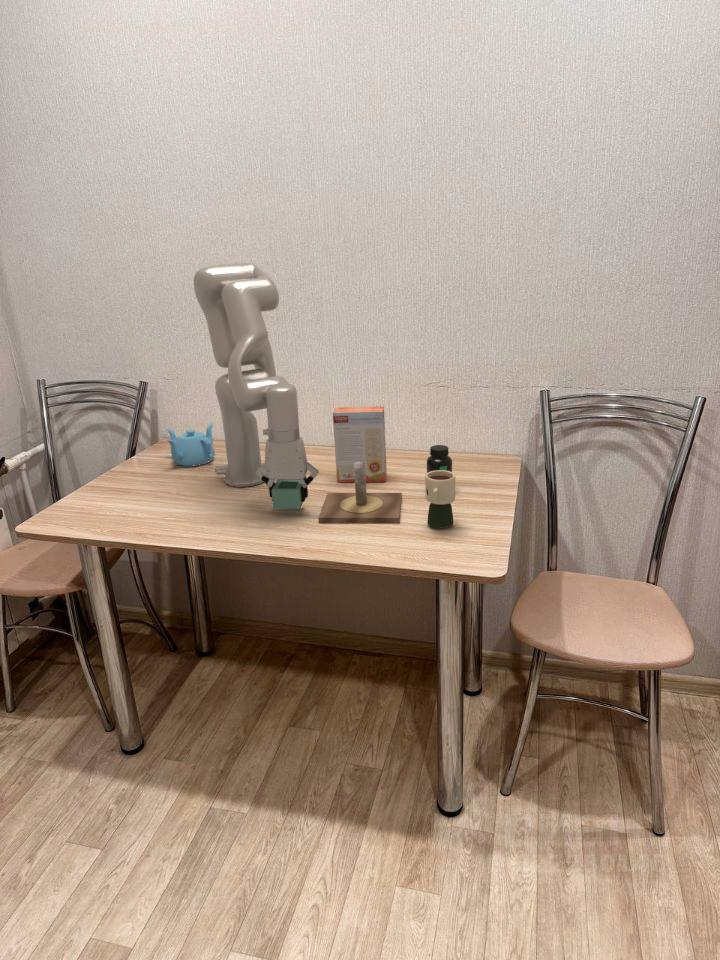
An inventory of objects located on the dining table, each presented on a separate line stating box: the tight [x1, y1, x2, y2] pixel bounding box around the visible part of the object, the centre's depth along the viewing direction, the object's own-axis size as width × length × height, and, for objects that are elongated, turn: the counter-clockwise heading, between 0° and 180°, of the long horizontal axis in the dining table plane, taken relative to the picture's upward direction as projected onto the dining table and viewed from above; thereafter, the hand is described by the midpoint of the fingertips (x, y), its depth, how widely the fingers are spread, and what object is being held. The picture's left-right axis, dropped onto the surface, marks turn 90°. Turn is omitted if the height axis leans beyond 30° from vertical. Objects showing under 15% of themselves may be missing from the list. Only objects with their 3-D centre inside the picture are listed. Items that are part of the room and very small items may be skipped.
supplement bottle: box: [426, 444, 453, 473], centre depth 187 cm, size 7×7×12 cm
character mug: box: [424, 470, 456, 529], centre depth 165 cm, size 11×7×13 cm, turn 159°
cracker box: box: [332, 405, 388, 483], centre depth 195 cm, size 14×6×21 cm, turn 84°
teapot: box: [165, 422, 216, 467], centre depth 218 cm, size 15×15×10 cm
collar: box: [271, 480, 304, 510], centre depth 177 cm, size 7×7×5 cm
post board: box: [318, 461, 403, 524], centre depth 176 cm, size 20×16×13 cm
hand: (289, 499), depth 177 cm, fingers closed on collar, 7 cm apart
